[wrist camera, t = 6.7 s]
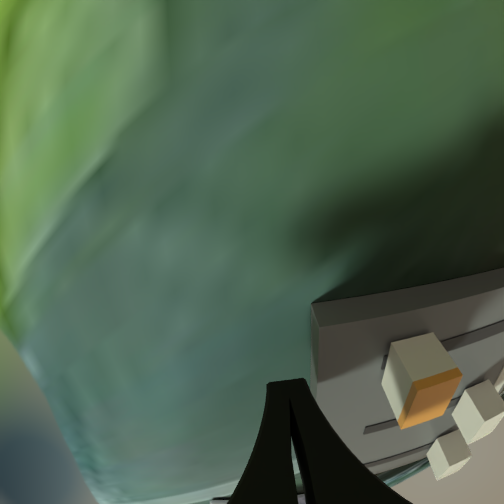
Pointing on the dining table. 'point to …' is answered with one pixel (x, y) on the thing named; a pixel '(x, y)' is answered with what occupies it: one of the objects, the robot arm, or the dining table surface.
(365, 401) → the panel
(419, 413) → the switch
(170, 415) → the dining table surface
